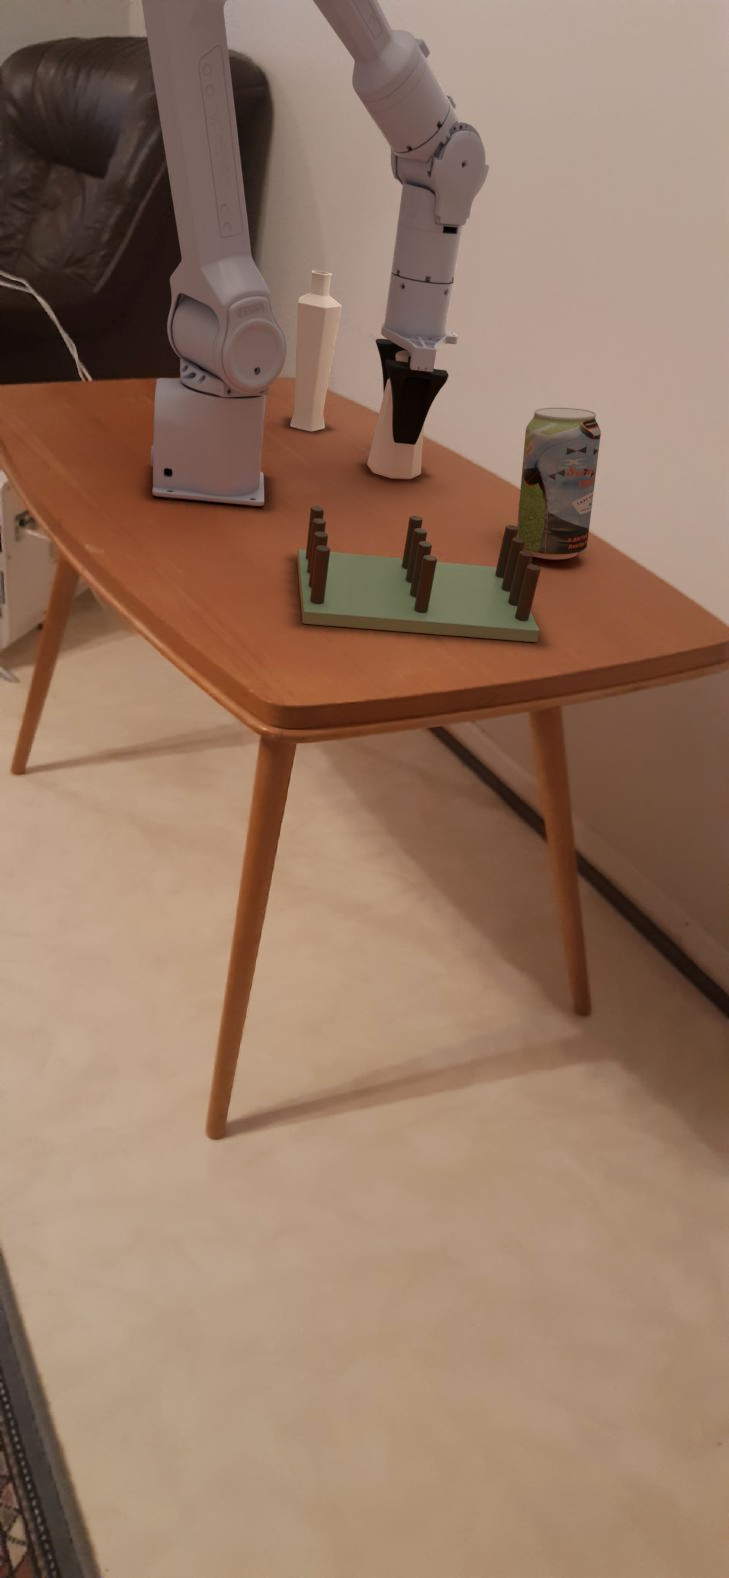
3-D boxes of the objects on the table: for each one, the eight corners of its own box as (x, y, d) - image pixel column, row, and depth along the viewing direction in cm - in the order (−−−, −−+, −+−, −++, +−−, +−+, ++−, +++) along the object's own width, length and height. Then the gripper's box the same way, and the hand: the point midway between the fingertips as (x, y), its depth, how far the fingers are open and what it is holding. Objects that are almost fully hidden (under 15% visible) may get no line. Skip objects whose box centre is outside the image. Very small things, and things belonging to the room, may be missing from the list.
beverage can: (566, 575, 85) (604, 429, 78) (488, 548, 88) (518, 405, 81) (593, 556, 90) (632, 416, 83) (518, 530, 92) (549, 393, 86)
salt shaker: (355, 464, 102) (370, 346, 96) (397, 459, 105) (414, 345, 99) (389, 482, 99) (407, 362, 92) (431, 477, 102) (451, 360, 95)
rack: (302, 624, 71) (309, 556, 69) (296, 560, 80) (303, 498, 78) (537, 642, 74) (553, 578, 71) (506, 579, 83) (519, 519, 80)
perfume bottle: (327, 434, 108) (344, 280, 100) (286, 429, 108) (299, 273, 100) (329, 422, 112) (346, 272, 104) (289, 417, 112) (302, 265, 103)
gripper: (480, 298, 86) (451, 458, 94) (453, 268, 98) (429, 413, 106) (398, 288, 85) (376, 450, 93) (380, 259, 97) (362, 405, 105)
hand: (399, 430), depth 99 cm, fingers open, 7 cm apart
